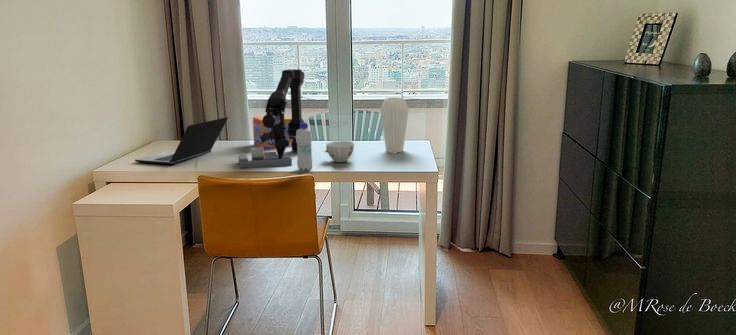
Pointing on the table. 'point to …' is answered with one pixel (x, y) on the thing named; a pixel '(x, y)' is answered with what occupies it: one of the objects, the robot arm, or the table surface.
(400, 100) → the vase
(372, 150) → the table surface
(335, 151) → the teacup
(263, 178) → the table surface
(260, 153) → the block
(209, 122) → the laptop
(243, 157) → the vise
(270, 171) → the table surface
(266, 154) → the panel
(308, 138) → the bottle
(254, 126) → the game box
